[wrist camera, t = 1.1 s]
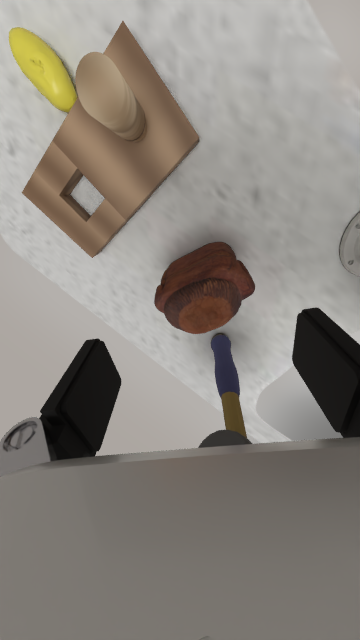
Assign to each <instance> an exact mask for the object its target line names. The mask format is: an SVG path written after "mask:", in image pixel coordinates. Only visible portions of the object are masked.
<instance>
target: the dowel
mask: <svg viewBox="0 0 360 640" xmlns="http://www.w3.org/2000/svg"><path fill="white" fill-rule="evenodd" d="M76 90H77V94H78V97H79V100H80V102H81V104H82V106H83V107H84V109H85V110H86V111H87V113H88V114H89V115H91V116H92V117H93V118H95V119H96V120H97V121H99V122H100V123H102V124H103V125H105V126H106V127H107V128H109V129H110V130H112V131H113V132H114V133H116V134H117V135H119V136H120V137H122V138H123V139H125V140H127V141H133V142H138V141H141V140H142V139H143V138H144V137H145V135H146V132H147V122H146V118H145V114H144V110H143V108H142V106H141V105H140V103H139V102H138V100H137V98H136V97H135V95H134V94H133V92H132V90H131V89H130V87H129V86H128V84H127V83H126V81H125V79H124V78H123V76H122V75H121V73H120V71H119V70H118V68H117V67H116V65H115V64H114V62H113V61H112V60H111V59H110V58H109V57H107V56H106V55H104V54H102V53H99V52H91V53H89V54H87V55H85V56H84V57H83V58H82V59H81V61H80V62H79V65H78V67H77V71H76Z"/></svg>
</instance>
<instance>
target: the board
mask: <svg viewBox="0 0 360 640" xmlns="http://www.w3.org/2000/svg"><path fill="white" fill-rule="evenodd" d="M104 55H106V56H107V57H109V58H110V59H111V60H112V61H113V62H114V64H115V65H116V67H117V68H118V70H119V71H120V73H121V75H122V76H123V78H124V79H125V81H126V83H127V84H128V86H129V87H130V89H131V90H132V92H133V94H134V95H135V97H136V98H137V100H138V102H139V103H140V105H141V106H142V108H143V110H144V114H145V118H146V122H147V132H146V135H145V137H144V138H143V139H142V140H141V141H138V142H133V141H127V140H125V139H123V138H122V137H120V136H119V135H117V134H116V133H114V132H113V131H112V130H110V129H109V128H107V127H106V126H105V125H103V124H102V123H100V122H99V121H97V120H96V119H95V118H93V117H92V116H91V115H89V114H88V113H87V111H86V110H85V109H84V107H83V106H82V104H81V102H80V100H79V97H78V98H77V100H76V101H75V103H74V105H73V106H72V108H71V110H70V112H69V113H68V115H67V117H66V118H65V120H64V122H63V123H62V125H61V127H60V129H59V130H58V132H57V134H56V135H55V137H54V139H53V140H52V142H51V144H50V146H49V147H48V149H47V151H46V152H45V154H44V156H43V158H42V159H41V161H40V163H39V164H38V166H37V168H36V169H35V171H34V173H33V175H32V176H31V178H30V180H29V181H28V183H27V185H26V186H25V188H24V190H23V192H22V193H23V194H24V195H25V196H26V197H27V198H28V199H29V200H30V201H31V202H32V203H33V204H35V205H36V206H37V207H38V208H39V209H40V210H41V211H42V212H43V213H44V214H45V215H46V216H47V217H49V218H50V219H51V220H52V221H53V222H54V223H55V224H56V225H57V226H58V227H59V228H60V229H61V230H63V231H64V232H65V233H66V234H67V235H68V236H69V237H70V238H71V239H72V240H73V241H74V242H75V243H77V244H78V245H79V246H80V247H81V248H82V249H83V250H84V251H85V252H86V253H87V254H88V255H89V256H91V257H92V258H93V257H94V256H96V255H97V254H99V253H100V252H101V251H102V249H103V248H104V247H105V246H106V245H107V244H108V243H109V242H110V240H111V239H112V238H113V237H114V236H115V235H116V234H117V233H118V232H119V230H120V229H121V228H122V227H123V226H124V225H125V224H126V223H127V222H128V220H129V219H130V218H131V217H132V216H133V215H134V214H135V213H136V211H137V210H138V209H139V208H140V207H141V206H142V205H143V204H144V203H145V201H146V200H147V199H148V198H149V197H150V196H151V195H152V194H153V193H154V191H155V190H156V189H157V188H158V187H159V186H160V185H161V184H162V182H163V181H164V180H165V179H166V178H167V177H168V176H169V175H170V174H171V172H172V171H173V170H174V169H175V168H176V167H177V166H178V165H179V164H180V162H181V161H182V160H183V159H184V158H185V157H186V156H187V155H188V153H189V152H190V151H191V150H192V149H193V148H194V147H195V146H196V145H197V143H198V142H199V136H198V135H197V133H196V132H195V130H194V129H193V127H192V126H191V124H190V122H189V121H188V119H187V118H186V116H185V115H184V113H183V112H182V110H181V109H180V107H179V106H178V104H177V103H176V101H175V100H174V98H173V96H172V95H171V93H170V92H169V90H168V89H167V87H166V86H165V84H164V83H163V81H162V80H161V78H160V77H159V75H158V74H157V72H156V70H155V69H154V67H153V66H152V64H151V63H150V61H149V60H148V58H147V57H146V55H145V54H144V52H143V51H142V49H141V47H140V46H139V44H138V43H137V41H136V40H135V38H134V37H133V35H132V34H131V32H130V31H129V29H128V28H127V26H126V25H125V23H124V21H122V23H121V25H120V26H119V28H118V30H117V31H116V33H115V35H114V37H113V38H112V40H111V42H110V43H109V45H108V47H107V48H106V50H105V52H104ZM83 175H84V176H85V177H86V178H87V179H88V180H89V181H90V182H91V183H92V184H93V186H94V187H95V188H96V189H97V190H98V191H99V192H100V193H101V194H102V195H103V196H104V198H105V199H104V201H103V202H102V203H101V204H100V206H99V207H98V208H97V209H96V211H95V212H94V213H93V215H92V216H90V215H89V214H88V213H87V212H86V211H85V210H84V209H83V208H82V207H81V206H80V205H79V204H78V203H77V202H76V201H75V200H74V199H73V198H72V197H71V196H70V193H71V192H72V191H73V189H74V188H75V186H76V185H77V183H78V182H79V181H80V179H81V178H82V176H83Z"/></svg>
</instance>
